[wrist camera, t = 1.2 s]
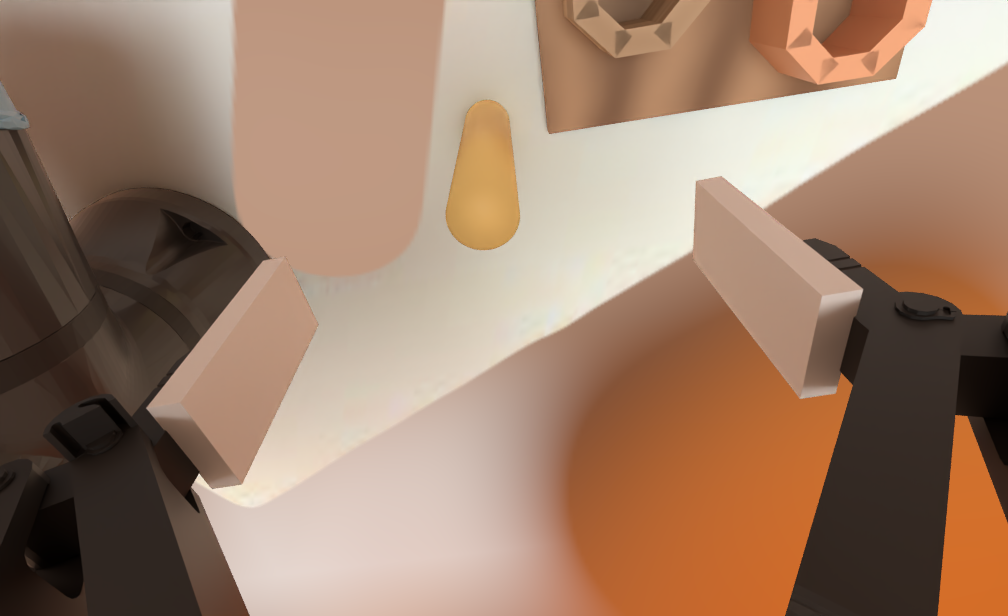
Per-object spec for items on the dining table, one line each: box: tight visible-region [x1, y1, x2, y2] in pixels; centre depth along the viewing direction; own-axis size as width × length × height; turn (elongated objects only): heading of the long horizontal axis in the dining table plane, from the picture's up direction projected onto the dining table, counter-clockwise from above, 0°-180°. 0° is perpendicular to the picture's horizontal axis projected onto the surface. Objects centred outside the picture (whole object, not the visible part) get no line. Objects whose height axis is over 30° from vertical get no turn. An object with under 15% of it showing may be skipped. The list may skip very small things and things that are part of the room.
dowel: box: [446, 100, 520, 250], centre depth 26 cm, size 3×3×16 cm
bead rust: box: [749, 0, 932, 85], centre depth 27 cm, size 7×7×4 cm
